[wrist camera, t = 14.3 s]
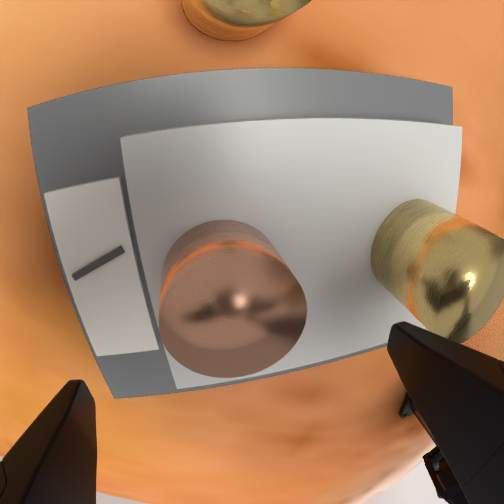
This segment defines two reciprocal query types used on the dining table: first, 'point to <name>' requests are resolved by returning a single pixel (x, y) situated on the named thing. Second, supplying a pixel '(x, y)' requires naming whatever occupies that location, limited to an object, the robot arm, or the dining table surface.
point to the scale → (237, 198)
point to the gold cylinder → (238, 16)
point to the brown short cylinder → (228, 301)
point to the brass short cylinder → (440, 268)
